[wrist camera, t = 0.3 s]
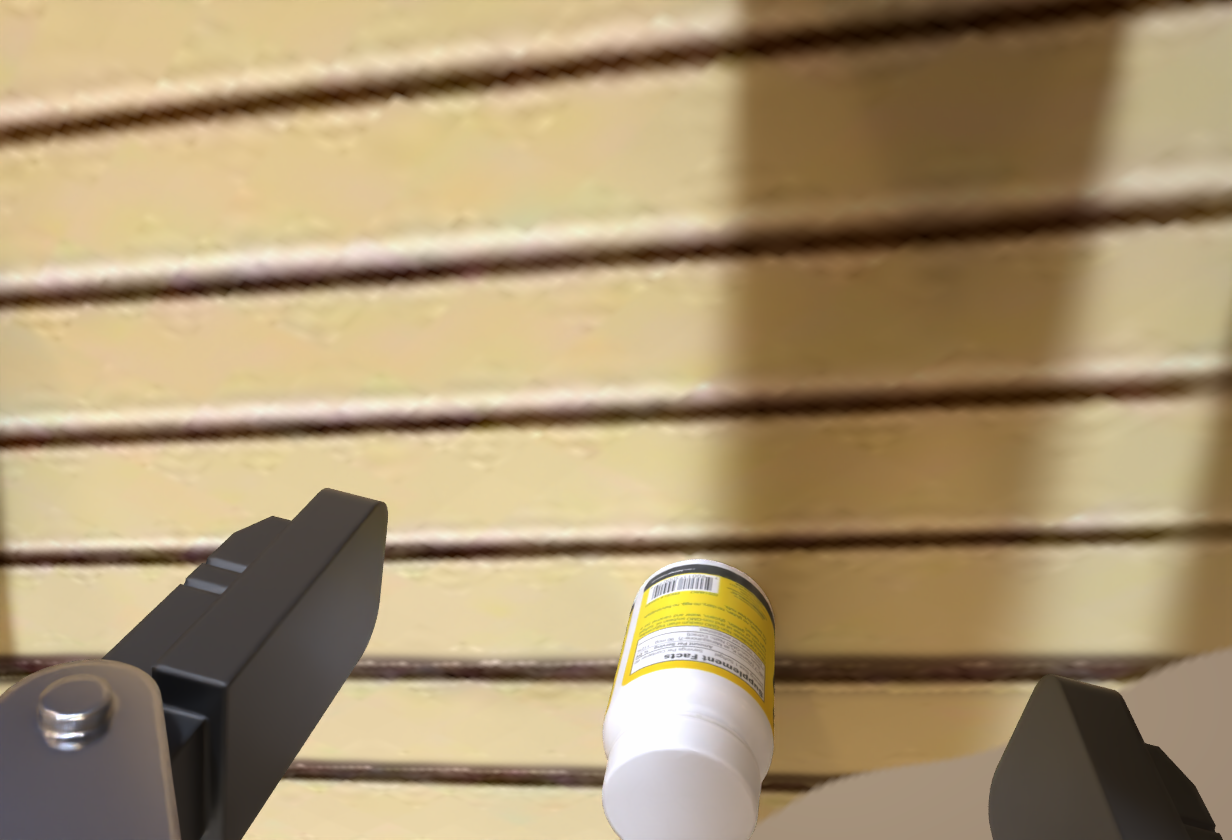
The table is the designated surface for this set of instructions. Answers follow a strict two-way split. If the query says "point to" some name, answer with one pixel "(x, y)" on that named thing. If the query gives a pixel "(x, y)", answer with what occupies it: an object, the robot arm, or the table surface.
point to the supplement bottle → (691, 707)
